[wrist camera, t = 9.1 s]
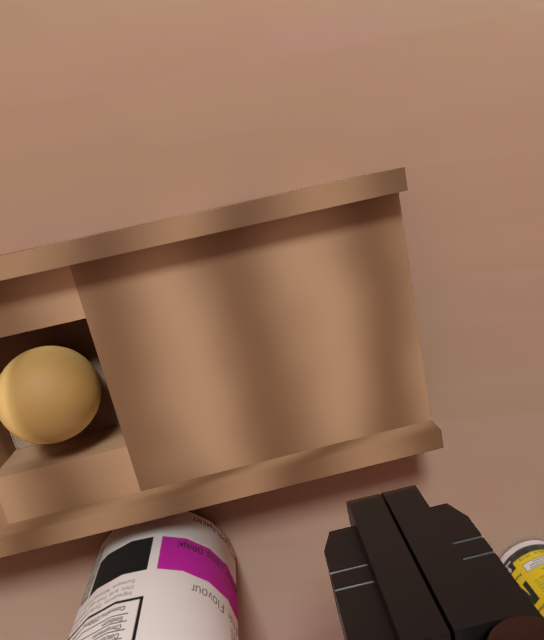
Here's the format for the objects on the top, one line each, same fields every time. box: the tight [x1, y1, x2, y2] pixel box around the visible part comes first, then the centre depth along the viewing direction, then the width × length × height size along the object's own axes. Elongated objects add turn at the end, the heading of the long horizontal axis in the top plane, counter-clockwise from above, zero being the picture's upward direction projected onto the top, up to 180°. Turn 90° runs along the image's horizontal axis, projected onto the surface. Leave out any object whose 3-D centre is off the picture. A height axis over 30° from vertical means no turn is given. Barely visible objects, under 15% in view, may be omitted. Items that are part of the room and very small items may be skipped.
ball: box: [0, 346, 101, 444], centre depth 24 cm, size 5×5×5 cm
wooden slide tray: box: [0, 167, 443, 558], centre depth 25 cm, size 26×14×4 cm, turn 102°
